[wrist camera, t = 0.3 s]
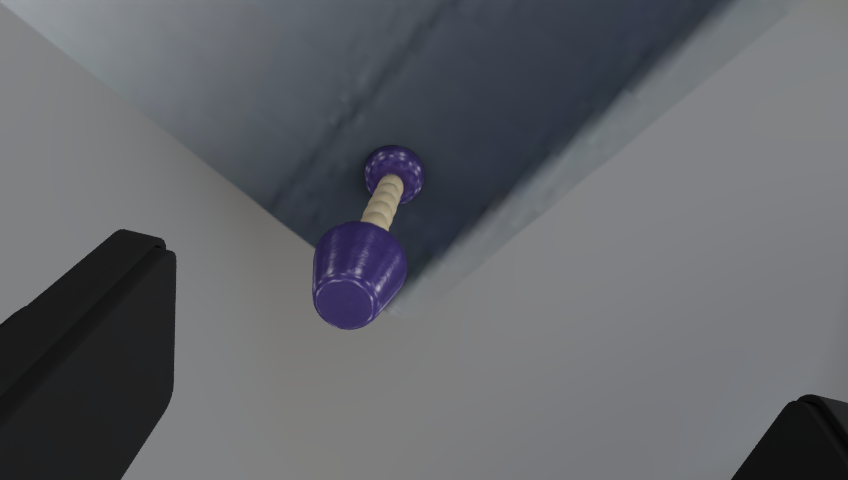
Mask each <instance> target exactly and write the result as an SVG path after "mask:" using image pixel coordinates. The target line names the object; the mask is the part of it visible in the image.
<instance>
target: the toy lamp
mask: <svg viewBox="0 0 848 480" xmlns="http://www.w3.org/2000/svg"><path fill="white" fill-rule="evenodd" d="M364 178H365V183H366V186H367V188H368V190H369V192H370V193H371V194H372V195H373V196H372V198H371V199H370V201H369V203H368V206H367V208H366V209H365V211H364V213H363V218H362V219H361V220H360V221H351V222H345V223H342V224H339V225H337V226H335V227H333V228H332V229H330V230H329V231H327V232H326V233H325V234H324V235H323V237H322V238H321V239H320V241H319V243H318V244H317V247H316V250H315V254H314V261H313V288H312V295H313V302H314V306H315V309H316V311H317V313H318V314H319V315H320V316H321V318H322V319H323V320H325V321H326V322H327V323H329V324H330V325H332V326H334V327H337V328H340V329H347V330H352V329H358V328H361V327H364V326H366V325H367V324H369V323H370V322H372V321H373V320H374V319H375V318H376V317H377V316H378V315H379V314H380V313H381V311H382V310H383V309H384V308H385V307H386V306H387V305H388V304H389V302H390V301H391V300H392V299H393V297H394V296H395V295H396V294H397V293H398V292H399V290H400V288H401V287H402V285H403V283H404V281H405V277H406V274H407V260H406V256H405V252H404V250H403V248H402V246H401V245H400V243H399V241H398V240H397V239H396V238H395V237H394V235H392V234H391V233H390V232H389V231H388V230H389V226H390V225H391V223H392V219H393V216H394V214H395V212H396V209H397V205H400V204H404V203H407V202H409V201H411V200H412V199H413V198H415V197H416V196H417V195H418V194H419V192H420V191H421V189H422V187H423V184H424V180H425V171H424V168H423V165H422V163H421V161H420V160H419V158H418V157H417V156H416V155H415V154H414V153H413V152H411V151H410V150H408V149H406V148H404V147H399V146H385V147H382V148H380V149H378V150H376V151H375V152H373V153H372V155H371V156H370V157H369V158H368V160H367V162H366V165H365V170H364Z"/></svg>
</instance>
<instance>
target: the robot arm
mask: <svg viewBox="0 0 848 480" xmlns="http://www.w3.org/2000/svg"><path fill="white" fill-rule="evenodd" d="M175 300H176V255H175V253H174V252H173V251H169V250H166V244H165V242H164V240H162V239H161V238H158V237H154V236H150V235H146V234H142V233H137V232H133V231H129V230H125V229H122V230H121V229H120V230H118V231H116V232H115V233H113V234H112V235H111V236H110V237H109V238H107V239H106V240H105V241H104V242H103V243H101V244H100V245H99V246H98V247H97V248H96V249H94V250H93V251H92V252H91V253H89V254H88V255H87V256H86V257H85V258H84V259H82V260H81V261H80V262H79V263H77V264H76V265H75V266H74V267H73V268H72V269H70V270H69V271H68V272H67V273H66V274H64V275H63V276H62V277H61V278H60V279H58V280H57V281H56V282H55V283H54V284H53V285H51V286H50V287H49V288H48V289H47V290H45V291H44V292H43V293H42V294H40V295H39V296H38V297H37V298H36V299H35V300H33V301H32V302H31V303H30V304H28V305H27V306H25V307H23V308H21V309H20V310H19V311H17V312H15V313H14V314H13V315H11V316H10V317H9V318H8V319H7V320H5V321H4V322H3V323H2V324H0V480H121V478H122V477H123V475H124V473H125V472H126V470H127V469H128V468H129V466H130V464H131V463H132V461H133V460H134V458H135V457H136V455H137V454H138V452H139V451H140V449H141V447H142V446H143V444H144V443H145V441H146V439H147V438H148V437H149V435H150V434H151V432H152V430H153V429H154V427H155V426H156V424H157V423H158V421H159V420H160V418H161V417H162V415H163V414H164V412H165V410H166V409H167V407H168V404H169V402H170V399H171V396H172V392H173V384H174V345H175ZM731 480H848V403H846V402H842V401H838V400H834V399H829V398H825V397H821V396H817V395H812V394H811V395H804V396H802V397H800V398H799V399H798V400H797V401H792V402H790V403H788V404H787V405H786V406H785V407H784V409H783V410H782V411H781V413H780V414H779V415H778V417H777V418H776V419H775V421H774V422H773V424H772V425H771V426H770V428H769V429H768V430H767V432H766V433H765V434H764V436H763V437H762V438H761V440H760V441H759V442H758V444H757V445H756V446H755V448H754V449H753V451H752V452H751V453H750V455H749V456H748V457H747V459H746V460H745V461H744V463H743V464H742V466H741V467H740V468H739V470H738V471H737V472H736V474H735V475H734V476H733V478H732V479H731Z"/></svg>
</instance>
